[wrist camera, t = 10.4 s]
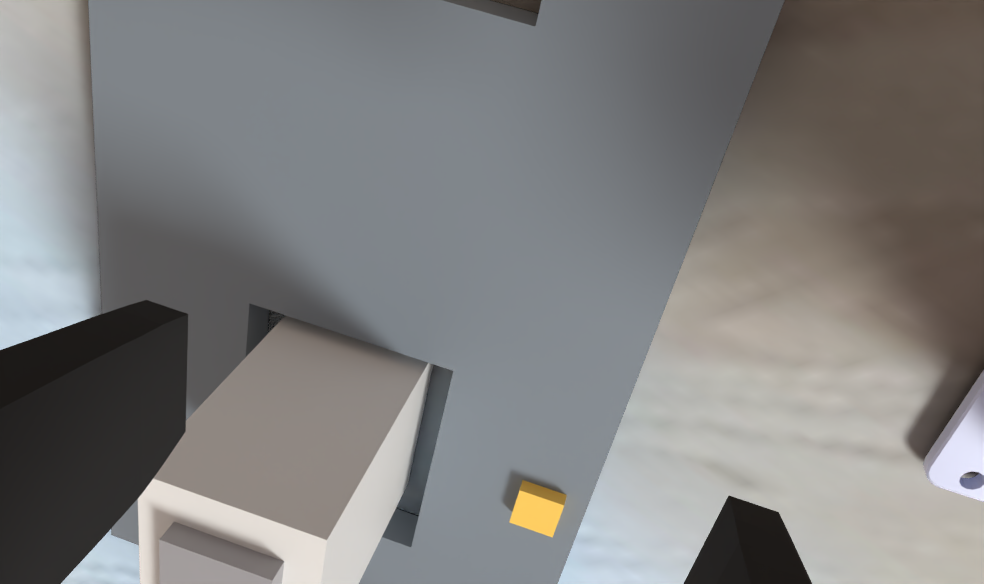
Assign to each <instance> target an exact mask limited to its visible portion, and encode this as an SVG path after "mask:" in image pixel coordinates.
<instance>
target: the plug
mask: <svg viewBox="0 0 984 584" xmlns="http://www.w3.org/2000/svg"><path fill="white" fill-rule="evenodd" d="M432 368H433V364H431V363H428V362H425V361H422V360H419V359H416V358H413V357H410V356H407V355H404V354H401V353H398V352H395V351H392V350H389V349H386V348H383V347H380V346H377V345H374V344H370V343H367V342H364V341H361V340H358V339H355V338H352V337H349V336H346V335H343V334H340V333H337V332H334V331H331V330H328V329H325V328H322V327H319V326H316V325H313V324H310V323H307V322H304V321H301V320H298V319H295V318H292V317H289V316H286V315H285V316H284V317H283V318H282V320H281V321H280V322H279V323H278V324H277V325H276V326H275V327H274V328H273V329H272V330H271V331H270V332H269V333H268V334H267V335H266V336H265V338H264V339H263V340H262V341H261V342H260V343H259V344H258V345H257V346H256V347H255V348H254V349H253V350H252V351H251V352H250V353H249V355H248V356H247V357H246V358H245V359H244V360H243V361H242V362H241V363H240V364H239V365H238V366H237V367H236V368H235V369H234V370H233V371H232V373H231V374H230V375H229V376H228V377H227V378H226V379H225V380H224V381H223V382H222V383H221V384H220V385H219V386H218V387H217V388H216V390H215V391H214V392H213V393H212V394H211V395H210V396H209V397H208V398H207V399H206V400H205V401H204V402H203V403H202V404H201V405H200V406H199V408H198V409H197V410H196V411H195V412H194V413H193V414H192V415H191V416H190V417H189V418H188V419H187V420H186V432H185V433H184V435H183V436H182V438H181V439H180V441H179V442H178V444H177V445H176V447H175V448H174V449H173V451H172V452H171V454H170V455H169V457H168V458H167V460H166V461H165V463H164V464H163V466H162V467H161V468H160V470H159V471H158V473H157V474H156V475H155V477H154V478H153V479H152V481H151V482H150V484H149V485H148V486H147V488H146V489H145V490H144V492H143V493H142V494H141V496H140V497H139V498H138V526H139V563H140V584H359V582H360V580H361V578H362V576H363V574H364V572H365V570H366V568H367V566H368V564H369V562H370V560H371V558H372V556H373V554H374V552H375V550H376V548H377V546H378V543H379V541H380V539H381V537H382V535H383V533H384V531H385V529H386V527H387V525H388V523H389V521H390V519H391V517H392V515H393V513H394V511H395V509H396V507H397V505H398V503H399V501H400V499H401V497H402V495H403V493H404V491H405V489H406V487H407V485H408V481H409V477H410V472H411V467H412V463H413V458H414V453H415V448H416V444H417V439H418V434H419V430H420V425H421V420H422V415H423V411H424V406H425V401H426V396H427V392H428V387H429V382H430V378H431V373H432Z"/></svg>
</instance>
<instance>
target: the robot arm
mask: <svg viewBox="0 0 984 584" xmlns="http://www.w3.org/2000/svg"><path fill="white" fill-rule="evenodd" d="M187 349H188V314H187V313H184V312H181V311H178V310H175V309H172V308H169V307H166V306H163V305H160V304H157V303H154V302H151V301H148V300H144V301H141V302H137V303H134V304H131V305H127V306H124V307H121V308H118V309H115V310H112V311H110V312H107V313H104V314H101V315H98V316H95V317H92V318H90V319H87V320H84V321H81V322H78V323H76V324H73V325H70V326H67V327H65V328H62V329H59V330H56V331H53V332H51V333H48V334H45V335H42V336H39V337H37V338H34V339H31V340H28V341H25V342H22V343H20V344H17V345H14V346H11V347H8V348H5V349H3V350H0V584H61V582H62V581H63V580H64V579H65V578H66V577H67V576H68V575H69V574H70V573H71V572H72V571H73V569H74V568H75V567H76V566H77V565H78V564H79V563H80V562H81V561H82V560H83V559H84V558H85V556H86V555H87V554H88V553H89V552H90V551H91V550H92V549H93V548H94V547H95V546H96V545H97V543H98V542H99V541H100V540H101V539H102V538H103V537H104V536H105V535H106V533H107V532H108V531H109V530H110V529H111V528H112V527H113V526H114V525H115V524H116V522H117V521H118V520H119V519H120V518H121V517H122V516H123V515H124V514H125V513H126V511H127V510H128V509H129V508H130V507H131V506H132V505H133V504H134V502H135V501H136V500H137V499H138V498H139V497H140V496H141V494H142V493H143V492H144V490H145V489H146V488H147V486H148V485H149V484H150V482H151V481H152V479H153V478H154V477H155V475H156V474H157V473H158V471H159V470H160V468H161V467H162V466H163V464H164V463H165V461H166V460H167V458H168V457H169V455H170V454H171V452H172V451H173V449H174V448H175V447H176V445H177V444H178V442H179V441H180V439H181V438H182V436H183V435H184V433H185V432H186V392H187ZM923 465H924V470H925V473H926V476H927V478H928V480H929V481H930V482H931V483H932V484H934V485H935V486H937V487H939V488H942V489H945V490H949V491H952V492H955V493H958V494H961V495H964V496H967V497H970V498H973V499H976V500H979V501H982V502H984V370H983V371H982V373H981V374H980V376H979V377H978V379H977V380H976V382H975V383H974V385H973V386H972V388H971V389H970V391H969V392H968V394H967V395H966V397H965V398H964V400H963V401H962V403H961V404H960V406H959V407H958V409H957V410H956V412H955V413H954V415H953V416H952V418H951V419H950V421H949V422H948V424H947V425H946V427H945V428H944V430H943V431H942V433H941V434H940V436H939V437H938V439H937V440H936V442H935V443H934V445H933V446H932V448H931V449H930V451H929V452H928V454H927V455H926V457H925V460H924V462H923ZM971 471H972V472H979V474H978V475H976V476H975V477H972V478H962V477H961V476H962V475H963V474H965V473H968V472H971ZM684 584H812V582H811V580H810V578H809V576H808V574H807V572H806V570H805V567H804V565H803V563H802V561H801V559H800V557H799V554H798V552H797V550H796V548H795V546H794V544H793V542H792V539H791V537H790V535H789V533H788V531H787V529H786V527H785V525H784V523H783V521H782V518H781V516H780V514H779V512H776V511H773V510H770V509H767V508H764V507H761V506H758V505H755V504H752V503H749V502H746V501H743V500H740V499H737V498H734V497H731V496H728V498H727V500H726V502H725V504H724V506H723V508H722V510H721V512H720V514H719V516H718V518H717V520H716V522H715V524H714V526H713V528H712V529H711V531H710V533H709V535H708V537H707V539H706V541H705V543H704V545H703V547H702V549H701V551H700V553H699V555H698V557H697V559H696V561H695V563H694V565H693V567H692V568H691V570H690V572H689V574H688V576H687V578H686V580H685V582H684Z"/></svg>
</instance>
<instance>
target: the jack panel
mask: <svg viewBox="0 0 984 584" xmlns="http://www.w3.org/2000/svg"><path fill="white" fill-rule="evenodd" d="M784 1H785V0H542V1H541V5H540V9H539V14H537V13H534V12H530V11H527V10H523V9H520V8H516V7H512V6H509V5H505V4H502V3H498V2H495V1H491V0H88V7H89V30H90V53H91V76H92V99H93V122H94V145H95V168H96V190H97V213H98V236H99V259H100V282H101V305H102V314H104V313H107V312H110V311H112V310H115V309H118V308H121V307H124V306H127V305H131V304H134V303H137V302H141V301H144V300H148V301H151V302H154V303H157V304H160V305H163V306H166V307H169V308H172V309H175V310H178V311H181V312H184V313H187V314H188V349H187V392H186V420H187V419H188V418H189V417H190V416H191V415H192V414H193V413H194V412H195V411H196V410H197V409H198V408H199V406H200V405H201V404H202V403H203V402H204V401H205V400H206V399H207V398H208V397H209V396H210V395H211V394H212V393H213V392H214V391H215V390H216V388H217V387H218V386H219V385H220V384H221V383H222V382H223V381H224V380H225V379H226V378H227V377H228V376H229V375H230V374H231V373H232V371H233V370H234V369H235V368H236V367H237V366H238V365H239V364H240V363H241V362H242V361H243V360H244V359H245V358H246V357H247V356H248V355H249V353H250V352H251V351H252V350H253V349H254V348H255V347H256V346H257V345H258V344H259V343H260V342H261V341H262V340H263V339H264V338H265V336H266V335H267V331H268V319H269V310H271V311H274V312H277V313H280V314H283V315H286V316H289V317H292V318H295V319H298V320H301V321H304V322H307V323H310V324H313V325H316V326H319V327H322V328H325V329H328V330H331V331H334V332H337V333H340V334H343V335H346V336H349V337H352V338H355V339H358V340H361V341H364V342H367V343H370V344H374V345H377V346H380V347H383V348H386V349H389V350H392V351H395V352H398V353H401V354H404V355H407V356H410V357H413V358H416V359H419V360H422V361H425V362H428V363H431V364H434V365H437V366H440V367H443V368H446V369H449V370H452V371H453V374H452V378H451V383H450V387H449V391H448V395H447V399H446V404H445V408H444V412H443V416H442V420H441V424H440V429H439V433H438V437H437V441H436V445H435V450H434V454H433V458H432V462H431V466H430V471H429V475H428V479H427V483H426V487H425V492H424V496H423V500H422V504H421V508H420V513H419V516H416V515H413V514H410V513H408V512H405V511H402V510H399V509H395V511H394V513H393V515H392V517H391V519H390V521H389V523H388V525H387V527H386V529H385V531H384V533H383V535H382V537H381V539H380V541H379V543H378V546H377V548H376V550H375V552H374V554H373V556H372V558H371V560H370V562H369V564H368V566H367V568H366V570H365V572H364V574H363V576H362V578H361V580H360V582H359V584H557V583H558V581H559V578H560V576H561V573H562V571H563V568H564V566H565V563H566V560H567V558H568V555H569V553H570V550H571V548H572V545H573V542H574V540H575V537H576V535H577V532H578V530H579V527H580V524H581V522H582V519H583V517H584V514H585V512H586V509H587V506H588V504H589V501H590V499H591V496H592V494H593V491H594V489H595V486H596V483H597V481H598V478H599V476H600V473H601V471H602V468H603V465H604V463H605V460H606V458H607V455H608V453H609V450H610V447H611V445H612V442H613V440H614V437H615V435H616V432H617V430H618V427H619V424H620V422H621V419H622V417H623V414H624V412H625V409H626V406H627V404H628V401H629V399H630V396H631V394H632V391H633V388H634V386H635V383H636V381H637V378H638V376H639V373H640V370H641V368H642V365H643V363H644V360H645V358H646V355H647V353H648V350H649V347H650V345H651V342H652V340H653V337H654V335H655V332H656V329H657V327H658V324H659V322H660V319H661V317H662V314H663V311H664V309H665V306H666V304H667V301H668V299H669V296H670V293H671V291H672V288H673V286H674V283H675V281H676V278H677V276H678V273H679V270H680V268H681V265H682V263H683V260H684V258H685V255H686V252H687V250H688V247H689V245H690V242H691V240H692V237H693V234H694V232H695V229H696V227H697V224H698V222H699V219H700V217H701V214H702V211H703V209H704V206H705V204H706V201H707V199H708V196H709V193H710V191H711V188H712V186H713V183H714V181H715V178H716V175H717V173H718V170H719V168H720V165H721V163H722V160H723V157H724V155H725V152H726V150H727V147H728V145H729V142H730V140H731V137H732V134H733V132H734V129H735V127H736V124H737V122H738V119H739V116H740V114H741V111H742V109H743V106H744V104H745V101H746V98H747V96H748V93H749V91H750V88H751V86H752V83H753V80H754V78H755V75H756V73H757V70H758V68H759V65H760V63H761V60H762V57H763V55H764V52H765V50H766V47H767V45H768V42H769V39H770V37H771V34H772V32H773V29H774V27H775V24H776V21H777V19H778V16H779V14H780V11H781V9H782V6H783V4H784ZM111 535H113V536H116V537H118V538H121V539H124V540H127V541H129V542H132V543H135V544H137V545H139V526H138V499H137V500H136V501H135V502H134V504H133V505H132V506H131V507H130V508H129V509H128V510H127V511H126V513H125V514H124V515H123V516H122V517H121V518H120V519H119V520H118V521H117V522H116V524H115V525H114V526H113V527H112V528H111Z"/></svg>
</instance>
